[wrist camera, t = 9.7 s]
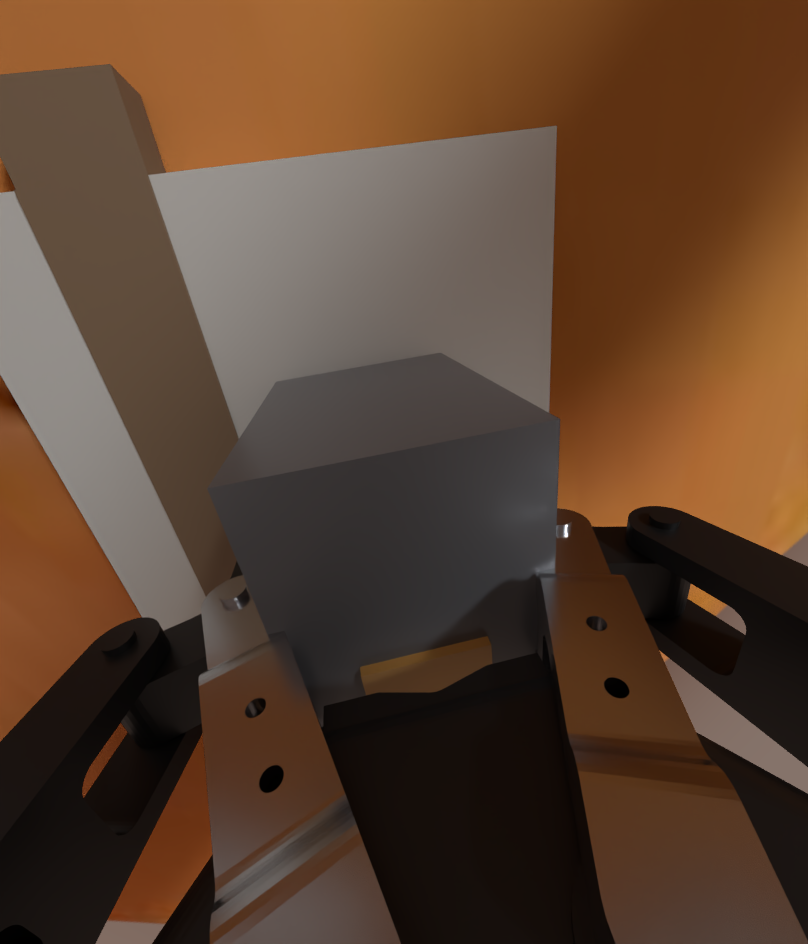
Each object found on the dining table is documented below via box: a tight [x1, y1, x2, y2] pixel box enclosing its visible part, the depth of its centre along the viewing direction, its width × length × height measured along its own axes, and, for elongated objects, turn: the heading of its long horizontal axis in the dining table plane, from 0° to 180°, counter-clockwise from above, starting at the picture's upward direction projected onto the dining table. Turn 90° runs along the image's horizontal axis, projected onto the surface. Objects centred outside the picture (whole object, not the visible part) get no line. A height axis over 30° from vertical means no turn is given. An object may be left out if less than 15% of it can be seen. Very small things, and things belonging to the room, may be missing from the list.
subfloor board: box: [0, 64, 557, 631], centre depth 14 cm, size 16×22×2 cm
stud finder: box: [207, 353, 560, 727], centre depth 10 cm, size 5×8×7 cm, turn 9°
